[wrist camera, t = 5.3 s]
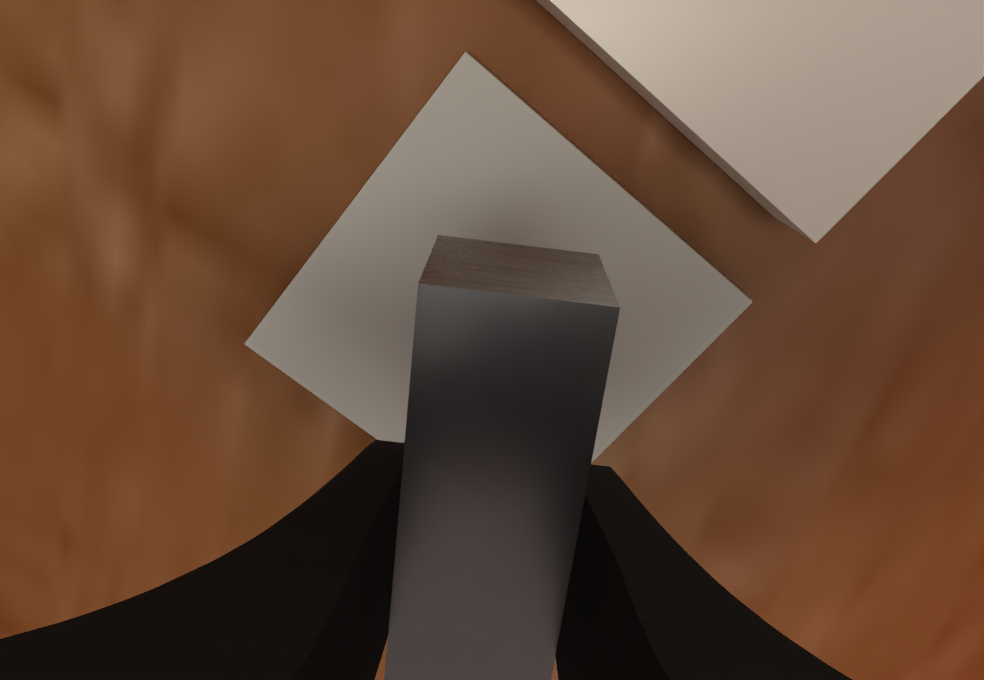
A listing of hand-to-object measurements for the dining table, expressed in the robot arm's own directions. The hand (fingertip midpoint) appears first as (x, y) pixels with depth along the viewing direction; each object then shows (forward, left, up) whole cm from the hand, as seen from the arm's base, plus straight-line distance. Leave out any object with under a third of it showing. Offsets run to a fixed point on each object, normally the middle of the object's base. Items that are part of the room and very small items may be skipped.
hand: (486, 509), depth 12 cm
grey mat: (0, 0, -10) cm, 11 cm away
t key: (0, 0, -5) cm, 5 cm away
